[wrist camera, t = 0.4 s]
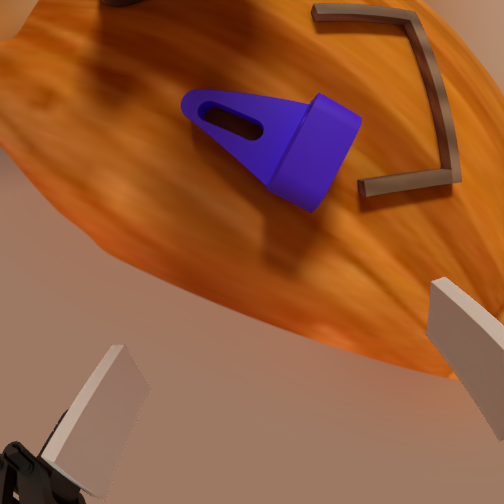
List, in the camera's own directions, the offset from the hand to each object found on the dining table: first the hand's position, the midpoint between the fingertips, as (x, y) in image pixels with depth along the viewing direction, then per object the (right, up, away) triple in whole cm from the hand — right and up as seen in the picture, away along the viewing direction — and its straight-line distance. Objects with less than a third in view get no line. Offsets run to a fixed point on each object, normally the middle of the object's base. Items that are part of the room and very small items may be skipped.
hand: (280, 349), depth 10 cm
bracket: (-1, +19, +22) cm, 29 cm away
